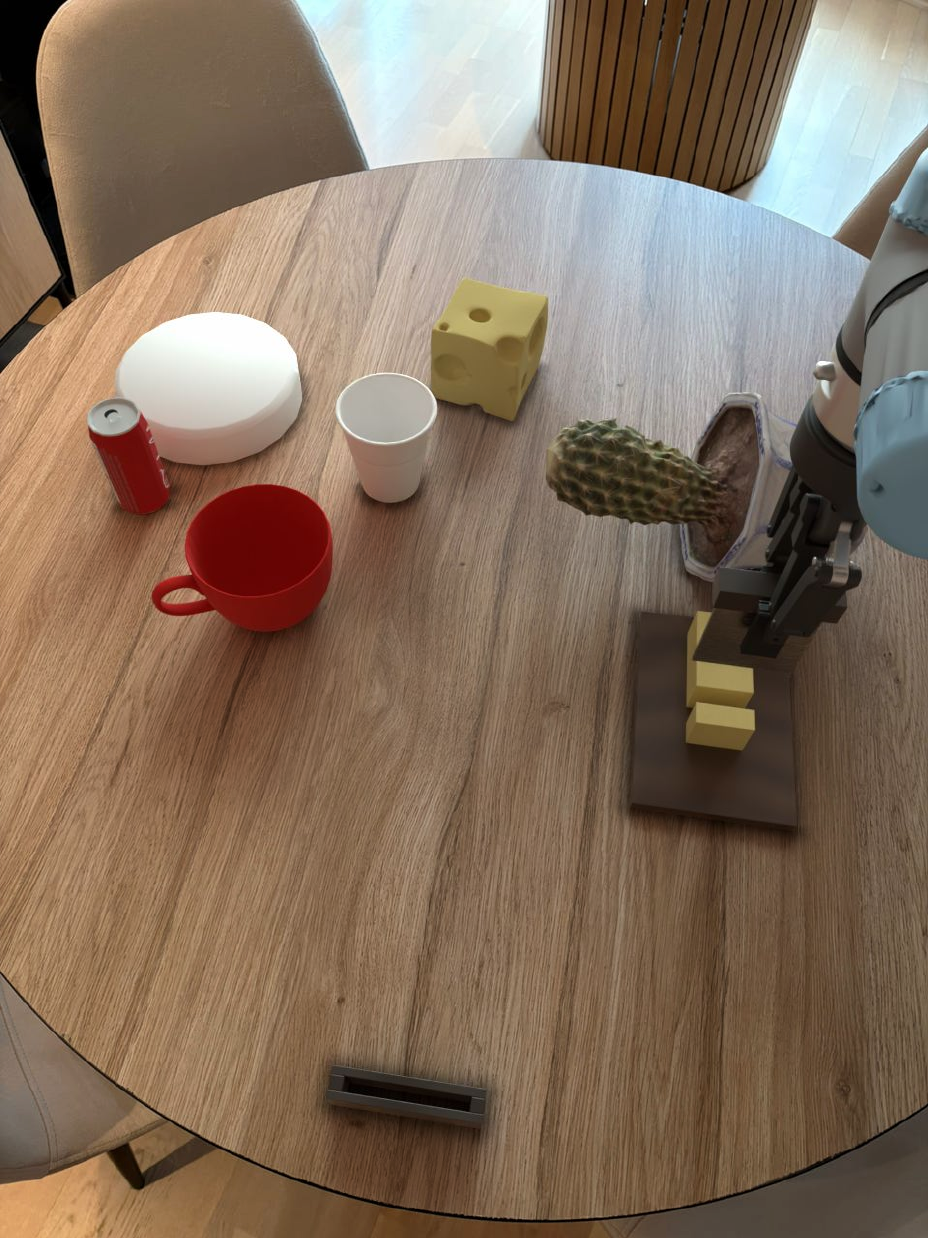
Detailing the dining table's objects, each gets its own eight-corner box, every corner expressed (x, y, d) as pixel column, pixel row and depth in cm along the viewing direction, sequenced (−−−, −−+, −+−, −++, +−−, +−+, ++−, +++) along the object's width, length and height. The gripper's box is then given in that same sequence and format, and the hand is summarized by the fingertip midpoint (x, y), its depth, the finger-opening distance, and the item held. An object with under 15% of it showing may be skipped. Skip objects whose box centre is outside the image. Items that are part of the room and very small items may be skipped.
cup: (363, 530, 98) (356, 457, 89) (331, 464, 103) (320, 388, 94) (452, 502, 100) (453, 427, 91) (415, 438, 105) (413, 361, 96)
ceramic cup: (148, 595, 93) (120, 531, 84) (307, 530, 98) (295, 464, 89) (196, 698, 87) (170, 640, 78) (363, 623, 92) (356, 562, 83)
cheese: (514, 424, 107) (521, 354, 98) (425, 398, 109) (424, 328, 100) (543, 365, 112) (552, 294, 104) (458, 341, 114) (460, 270, 106)
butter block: (741, 714, 86) (754, 693, 83) (686, 707, 86) (696, 685, 83) (740, 640, 90) (751, 617, 87) (687, 633, 91) (697, 610, 87)
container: (90, 441, 104) (76, 409, 100) (172, 324, 114) (163, 292, 110) (260, 483, 101) (253, 453, 97) (328, 360, 112) (324, 328, 108)
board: (793, 831, 81) (797, 826, 80) (629, 808, 82) (631, 803, 81) (783, 635, 92) (787, 629, 91) (638, 616, 93) (640, 610, 92)
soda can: (181, 500, 99) (153, 417, 89) (134, 525, 98) (99, 443, 87) (155, 468, 102) (124, 384, 92) (108, 492, 100) (72, 409, 90)
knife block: (484, 1095, 70) (486, 1089, 67) (480, 1129, 68) (482, 1124, 65) (337, 1071, 70) (332, 1064, 67) (330, 1104, 69) (325, 1098, 66)
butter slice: (742, 750, 84) (755, 730, 81) (685, 743, 84) (695, 722, 81) (741, 730, 85) (754, 709, 82) (685, 722, 85) (696, 701, 82)
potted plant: (870, 378, 91) (576, 315, 84) (916, 531, 82) (591, 474, 75) (772, 488, 106) (515, 442, 99) (802, 629, 97) (521, 588, 90)
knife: (796, 660, 78) (845, 582, 69) (797, 684, 77) (847, 607, 67) (686, 646, 78) (719, 566, 69) (685, 669, 77) (720, 591, 68)
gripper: (801, 321, 58) (709, 552, 78) (816, 512, 50) (708, 716, 70) (925, 334, 58) (801, 563, 78) (961, 530, 50) (811, 730, 69)
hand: (757, 635), depth 74 cm, fingers closed on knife, 2 cm apart
